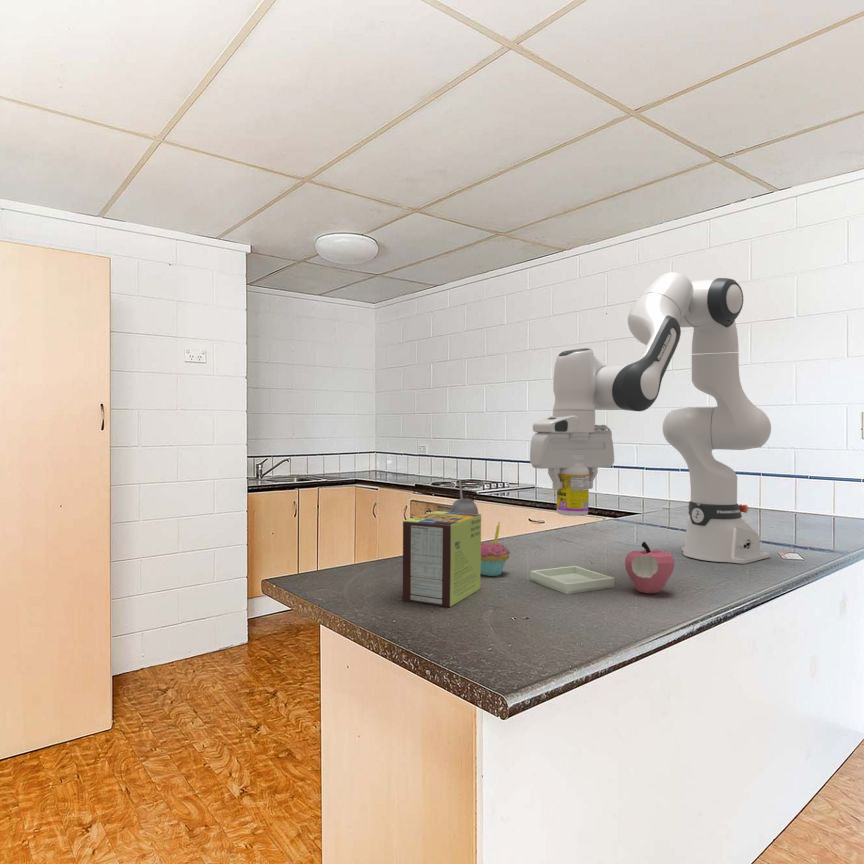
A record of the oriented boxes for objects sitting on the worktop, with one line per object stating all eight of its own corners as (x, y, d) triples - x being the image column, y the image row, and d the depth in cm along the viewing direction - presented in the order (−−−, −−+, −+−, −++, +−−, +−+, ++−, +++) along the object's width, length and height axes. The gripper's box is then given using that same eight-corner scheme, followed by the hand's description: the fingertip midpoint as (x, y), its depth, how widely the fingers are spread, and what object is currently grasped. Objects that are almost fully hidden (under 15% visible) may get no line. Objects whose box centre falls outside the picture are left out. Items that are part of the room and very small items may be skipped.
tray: (575, 574, 144) (575, 565, 144) (614, 587, 133) (614, 578, 133) (529, 580, 138) (529, 570, 138) (566, 594, 127) (566, 584, 127)
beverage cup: (476, 564, 153) (477, 481, 152) (446, 563, 154) (447, 481, 154) (480, 558, 160) (481, 479, 159) (451, 557, 161) (452, 478, 161)
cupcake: (514, 571, 146) (514, 519, 146) (502, 579, 138) (502, 525, 138) (479, 567, 150) (479, 517, 149) (465, 575, 142) (466, 522, 142)
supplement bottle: (552, 512, 138) (553, 453, 138) (582, 512, 139) (583, 453, 139) (561, 516, 132) (562, 454, 132) (592, 516, 132) (593, 455, 132)
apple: (618, 592, 129) (619, 543, 128) (632, 584, 136) (632, 537, 136) (667, 600, 123) (668, 549, 123) (678, 591, 130) (679, 542, 130)
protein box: (481, 589, 131) (482, 513, 130) (450, 608, 117) (451, 524, 117) (435, 582, 135) (436, 510, 135) (400, 600, 121) (401, 519, 121)
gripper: (601, 424, 143) (600, 486, 143) (526, 423, 133) (525, 489, 134) (621, 425, 137) (620, 488, 137) (544, 423, 128) (543, 492, 128)
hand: (572, 489), depth 135 cm, fingers closed on supplement bottle, 7 cm apart
